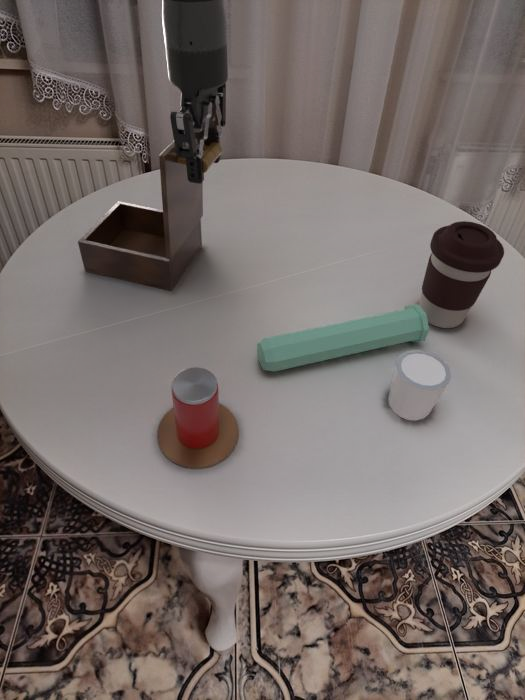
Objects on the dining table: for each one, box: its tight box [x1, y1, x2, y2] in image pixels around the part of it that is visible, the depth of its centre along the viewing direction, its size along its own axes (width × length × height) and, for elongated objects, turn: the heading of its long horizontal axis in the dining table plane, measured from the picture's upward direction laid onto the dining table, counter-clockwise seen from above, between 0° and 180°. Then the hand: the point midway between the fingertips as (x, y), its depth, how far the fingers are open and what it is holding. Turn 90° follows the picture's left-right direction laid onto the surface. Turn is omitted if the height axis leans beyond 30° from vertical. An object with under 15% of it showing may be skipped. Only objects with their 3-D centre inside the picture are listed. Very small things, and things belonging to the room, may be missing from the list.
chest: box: [77, 200, 203, 292], centre depth 86 cm, size 16×14×6 cm
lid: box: [158, 128, 223, 260], centre depth 76 cm, size 16×14×5 cm
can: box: [171, 366, 220, 449], centre depth 60 cm, size 5×5×9 cm
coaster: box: [156, 403, 240, 470], centre depth 63 cm, size 10×10×1 cm
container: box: [256, 303, 430, 372], centre depth 73 cm, size 6×6×25 cm
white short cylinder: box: [387, 349, 452, 422], centre depth 66 cm, size 7×7×7 cm
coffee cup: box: [418, 220, 505, 329], centre depth 76 cm, size 10×10×15 cm
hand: (204, 170), depth 73 cm, fingers closed on lid, 6 cm apart
